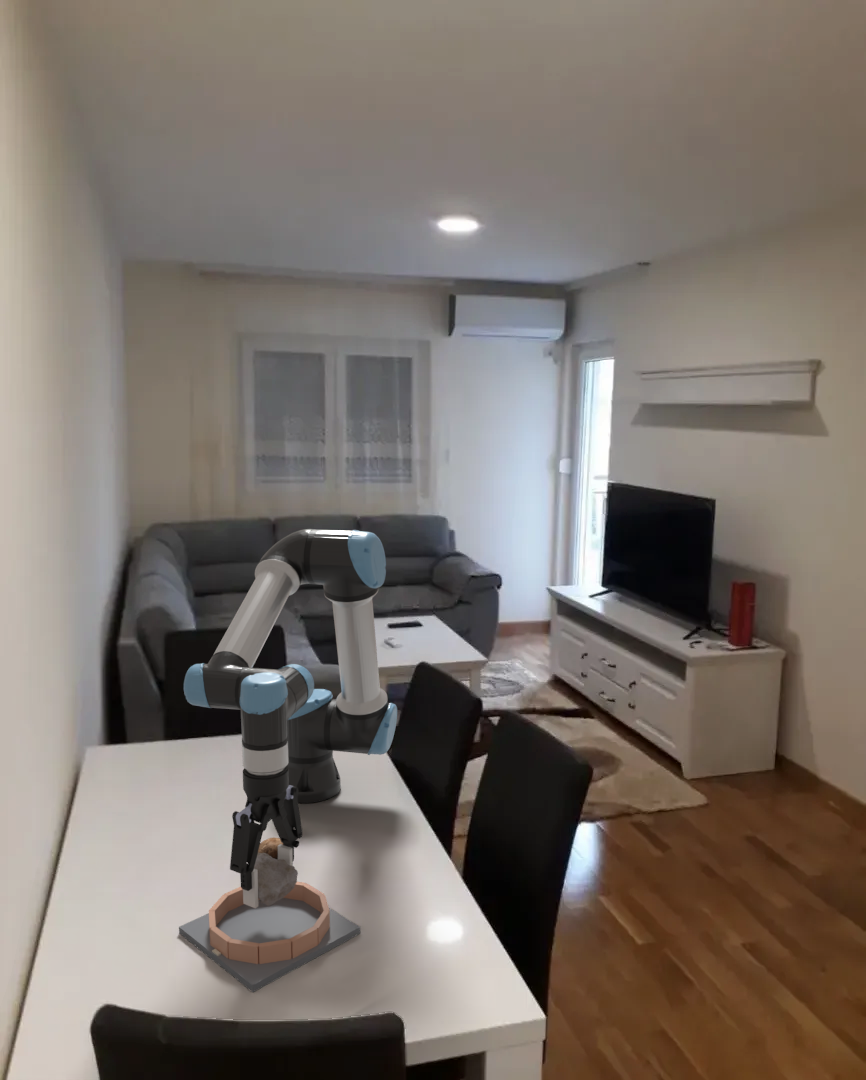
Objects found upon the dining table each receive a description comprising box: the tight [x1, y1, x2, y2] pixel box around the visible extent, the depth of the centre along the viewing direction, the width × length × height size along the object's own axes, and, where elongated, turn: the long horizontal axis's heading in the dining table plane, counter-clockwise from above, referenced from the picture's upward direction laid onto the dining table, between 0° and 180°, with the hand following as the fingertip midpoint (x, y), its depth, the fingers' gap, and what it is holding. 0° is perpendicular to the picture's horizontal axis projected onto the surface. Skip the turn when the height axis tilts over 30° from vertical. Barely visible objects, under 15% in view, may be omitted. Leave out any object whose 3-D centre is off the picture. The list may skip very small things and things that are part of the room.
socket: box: [178, 881, 361, 993], centre depth 156 cm, size 22×22×4 cm
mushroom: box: [258, 836, 283, 859], centre depth 178 cm, size 8×8×6 cm
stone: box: [254, 852, 299, 906], centre depth 155 cm, size 10×8×6 cm
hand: (268, 892), depth 155 cm, fingers closed on stone, 8 cm apart
